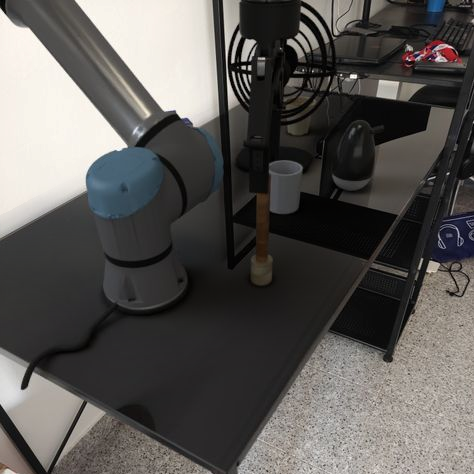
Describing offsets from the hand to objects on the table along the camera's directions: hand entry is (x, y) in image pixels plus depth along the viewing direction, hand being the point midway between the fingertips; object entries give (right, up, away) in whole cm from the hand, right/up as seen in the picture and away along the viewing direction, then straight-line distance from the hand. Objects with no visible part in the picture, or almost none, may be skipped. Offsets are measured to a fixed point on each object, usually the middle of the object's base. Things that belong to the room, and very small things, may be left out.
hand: (265, 172), depth 67 cm
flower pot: (+14, +40, +67) cm, 79 cm away
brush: (0, -14, +15) cm, 21 cm away
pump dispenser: (+24, +13, +41) cm, 49 cm away
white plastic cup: (+6, +6, +34) cm, 36 cm away
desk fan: (+6, +24, +52) cm, 58 cm away
